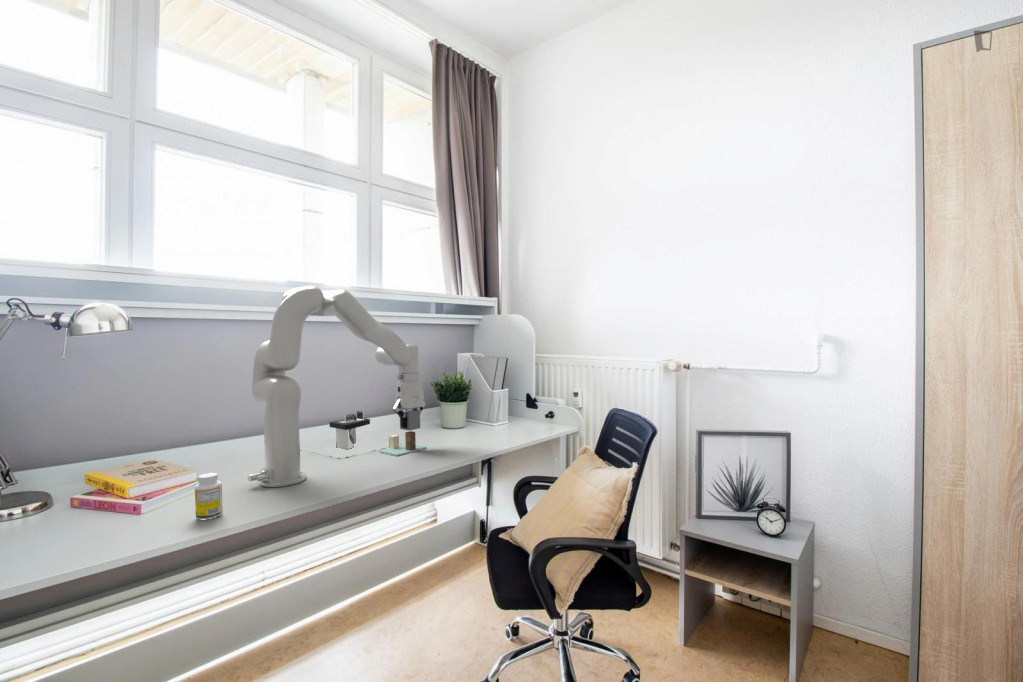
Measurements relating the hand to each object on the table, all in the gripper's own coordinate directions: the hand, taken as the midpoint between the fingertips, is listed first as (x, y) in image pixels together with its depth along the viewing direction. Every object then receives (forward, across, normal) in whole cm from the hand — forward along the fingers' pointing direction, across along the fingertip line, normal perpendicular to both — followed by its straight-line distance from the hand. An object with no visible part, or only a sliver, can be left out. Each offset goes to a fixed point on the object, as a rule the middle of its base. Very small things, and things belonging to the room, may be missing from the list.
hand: (410, 426), depth 179 cm
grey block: (+1, 0, 0) cm, 1 cm away
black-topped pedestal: (+10, -8, +25) cm, 28 cm away
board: (+9, -1, +3) cm, 10 cm away
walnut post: (+9, 0, 0) cm, 9 cm away
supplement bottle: (+9, -71, -9) cm, 72 cm away
